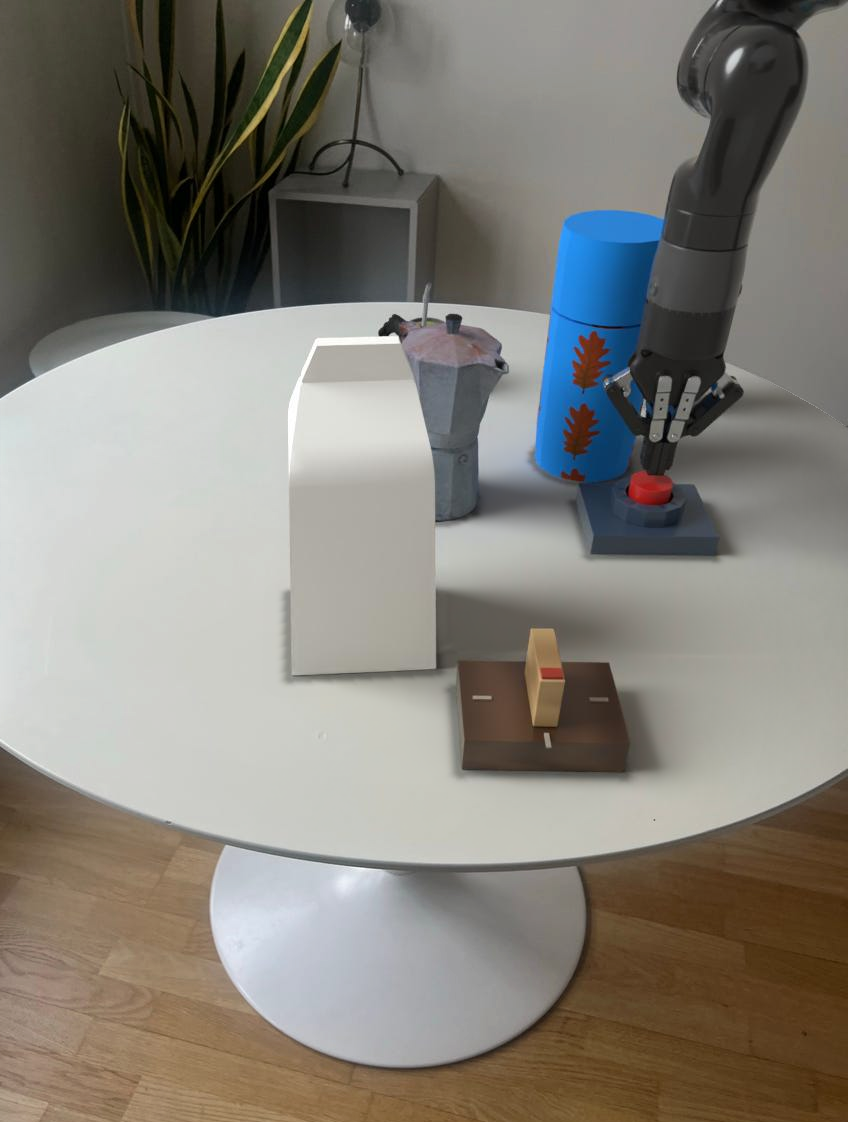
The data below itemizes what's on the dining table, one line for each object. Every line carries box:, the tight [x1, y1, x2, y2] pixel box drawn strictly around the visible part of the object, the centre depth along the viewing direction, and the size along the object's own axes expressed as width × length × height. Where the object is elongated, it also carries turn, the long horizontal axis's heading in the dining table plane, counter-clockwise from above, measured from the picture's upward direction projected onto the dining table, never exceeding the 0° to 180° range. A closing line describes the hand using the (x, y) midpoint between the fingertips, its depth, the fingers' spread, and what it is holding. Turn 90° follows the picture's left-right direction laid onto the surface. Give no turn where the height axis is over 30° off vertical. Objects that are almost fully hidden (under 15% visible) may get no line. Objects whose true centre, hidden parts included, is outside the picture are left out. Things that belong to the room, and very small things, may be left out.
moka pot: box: [377, 313, 510, 522], centre depth 95 cm, size 10×15×20 cm, turn 53°
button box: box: [575, 475, 720, 557], centre depth 96 cm, size 12×10×4 cm
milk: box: [287, 335, 437, 677], centre depth 76 cm, size 12×12×26 cm
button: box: [628, 470, 674, 505], centre depth 94 cm, size 4×4×2 cm
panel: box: [455, 659, 632, 773], centre depth 74 cm, size 12×10×3 cm
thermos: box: [534, 209, 664, 483], centre depth 100 cm, size 11×11×25 cm
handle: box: [525, 627, 565, 727], centre depth 71 cm, size 6×2×5 cm, turn 179°
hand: (653, 471), depth 93 cm, fingers closed
